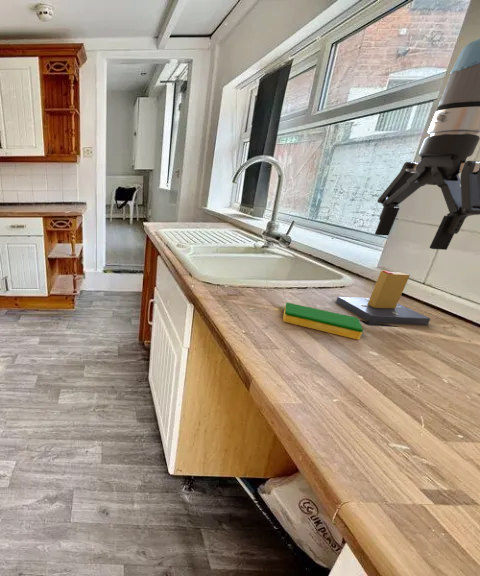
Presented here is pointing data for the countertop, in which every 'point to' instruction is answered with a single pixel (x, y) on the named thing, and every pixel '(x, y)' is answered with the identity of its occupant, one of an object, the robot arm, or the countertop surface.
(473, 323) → the countertop surface
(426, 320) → the plate
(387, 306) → the lock knob
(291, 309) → the dish sponge
